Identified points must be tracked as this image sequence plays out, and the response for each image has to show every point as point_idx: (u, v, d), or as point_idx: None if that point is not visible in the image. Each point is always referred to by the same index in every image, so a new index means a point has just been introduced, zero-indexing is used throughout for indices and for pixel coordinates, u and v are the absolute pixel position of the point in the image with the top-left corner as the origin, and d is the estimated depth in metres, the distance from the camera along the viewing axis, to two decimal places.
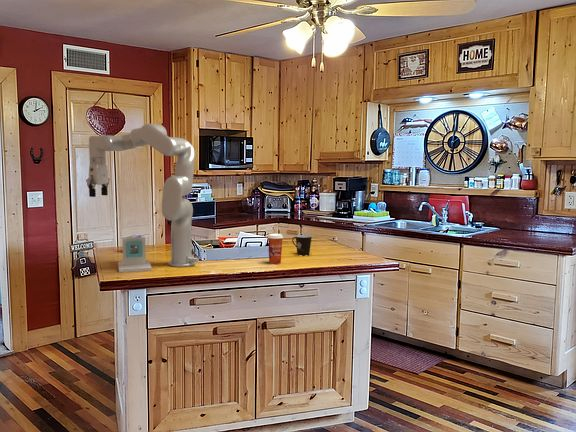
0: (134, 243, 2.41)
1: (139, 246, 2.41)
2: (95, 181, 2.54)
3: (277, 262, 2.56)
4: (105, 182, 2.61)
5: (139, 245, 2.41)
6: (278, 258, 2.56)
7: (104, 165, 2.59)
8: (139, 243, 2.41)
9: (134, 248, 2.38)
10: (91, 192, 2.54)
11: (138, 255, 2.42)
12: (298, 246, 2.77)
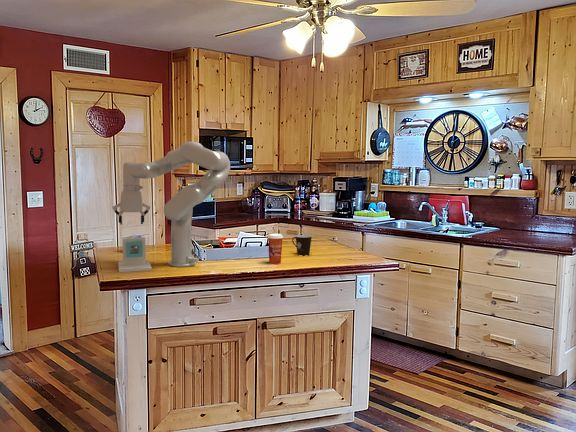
0: (134, 243, 2.41)
1: (139, 246, 2.41)
2: None
3: (277, 262, 2.56)
4: None
5: (139, 245, 2.41)
6: (278, 258, 2.56)
7: None
8: (139, 243, 2.41)
9: (134, 248, 2.38)
10: None
11: (138, 255, 2.42)
12: (298, 246, 2.77)
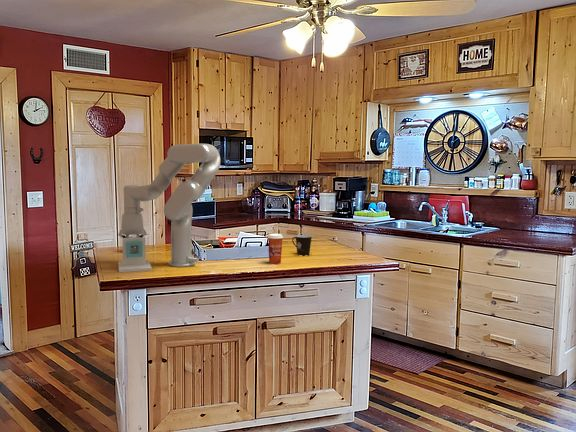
0: (134, 243, 2.41)
1: (139, 246, 2.41)
2: None
3: (277, 262, 2.56)
4: None
5: (139, 245, 2.41)
6: (278, 258, 2.56)
7: None
8: (139, 243, 2.41)
9: (134, 248, 2.38)
10: None
11: (138, 255, 2.42)
12: (298, 246, 2.77)
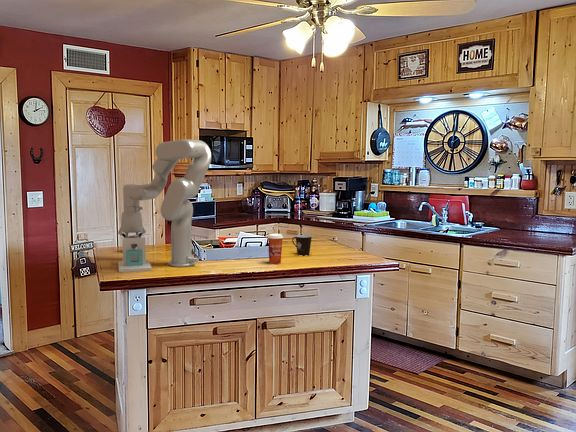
0: (134, 252, 2.41)
1: (139, 255, 2.42)
2: None
3: (277, 262, 2.56)
4: None
5: (139, 254, 2.42)
6: (278, 258, 2.56)
7: None
8: (139, 252, 2.42)
9: (133, 246, 2.44)
10: None
11: (138, 264, 2.42)
12: (298, 246, 2.77)
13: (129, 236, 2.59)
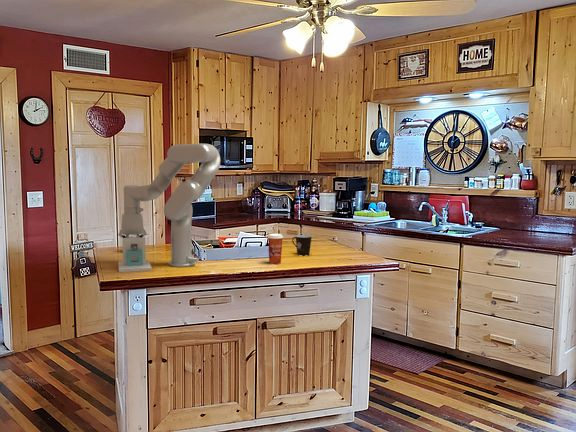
0: (134, 252, 2.41)
1: (139, 255, 2.42)
2: None
3: (277, 262, 2.56)
4: None
5: (139, 254, 2.42)
6: (278, 258, 2.56)
7: None
8: (139, 252, 2.42)
9: (134, 248, 2.38)
10: None
11: (138, 264, 2.42)
12: (298, 246, 2.77)
13: None
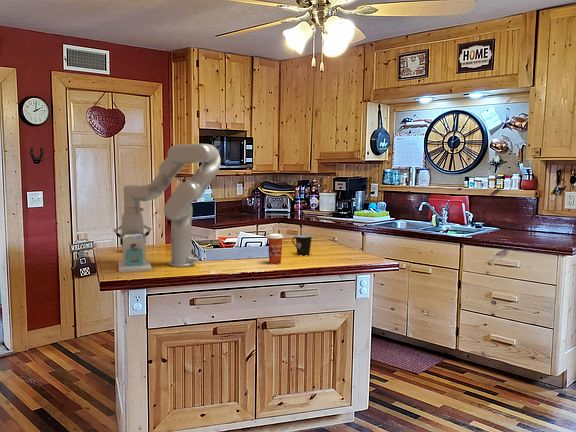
0: (134, 252, 2.41)
1: (139, 255, 2.42)
2: None
3: (277, 262, 2.56)
4: None
5: (139, 254, 2.42)
6: (278, 258, 2.56)
7: None
8: (139, 252, 2.42)
9: (134, 248, 2.38)
10: (145, 240, 2.56)
11: (138, 264, 2.42)
12: (298, 246, 2.77)
13: None
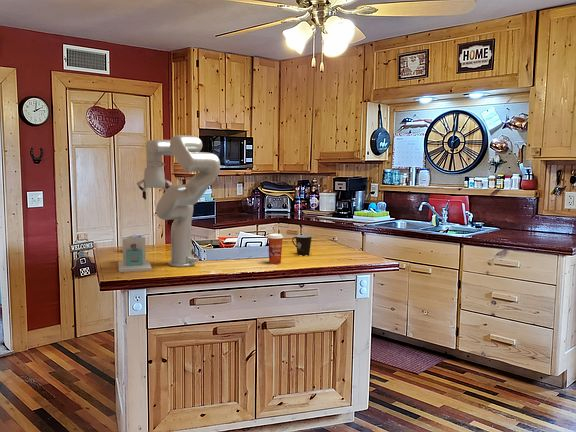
0: (134, 252, 2.41)
1: (139, 255, 2.42)
2: None
3: (277, 262, 2.56)
4: None
5: (139, 254, 2.42)
6: (278, 258, 2.56)
7: None
8: (139, 252, 2.42)
9: (134, 248, 2.38)
10: None
11: (138, 264, 2.42)
12: (298, 246, 2.77)
13: None
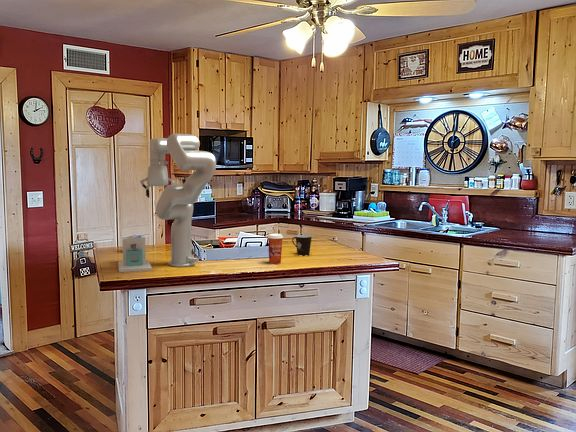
0: (134, 252, 2.41)
1: (139, 255, 2.42)
2: None
3: (277, 262, 2.56)
4: None
5: (139, 254, 2.42)
6: (278, 258, 2.56)
7: None
8: (139, 252, 2.42)
9: (134, 248, 2.38)
10: None
11: (138, 264, 2.42)
12: (298, 246, 2.77)
13: None
